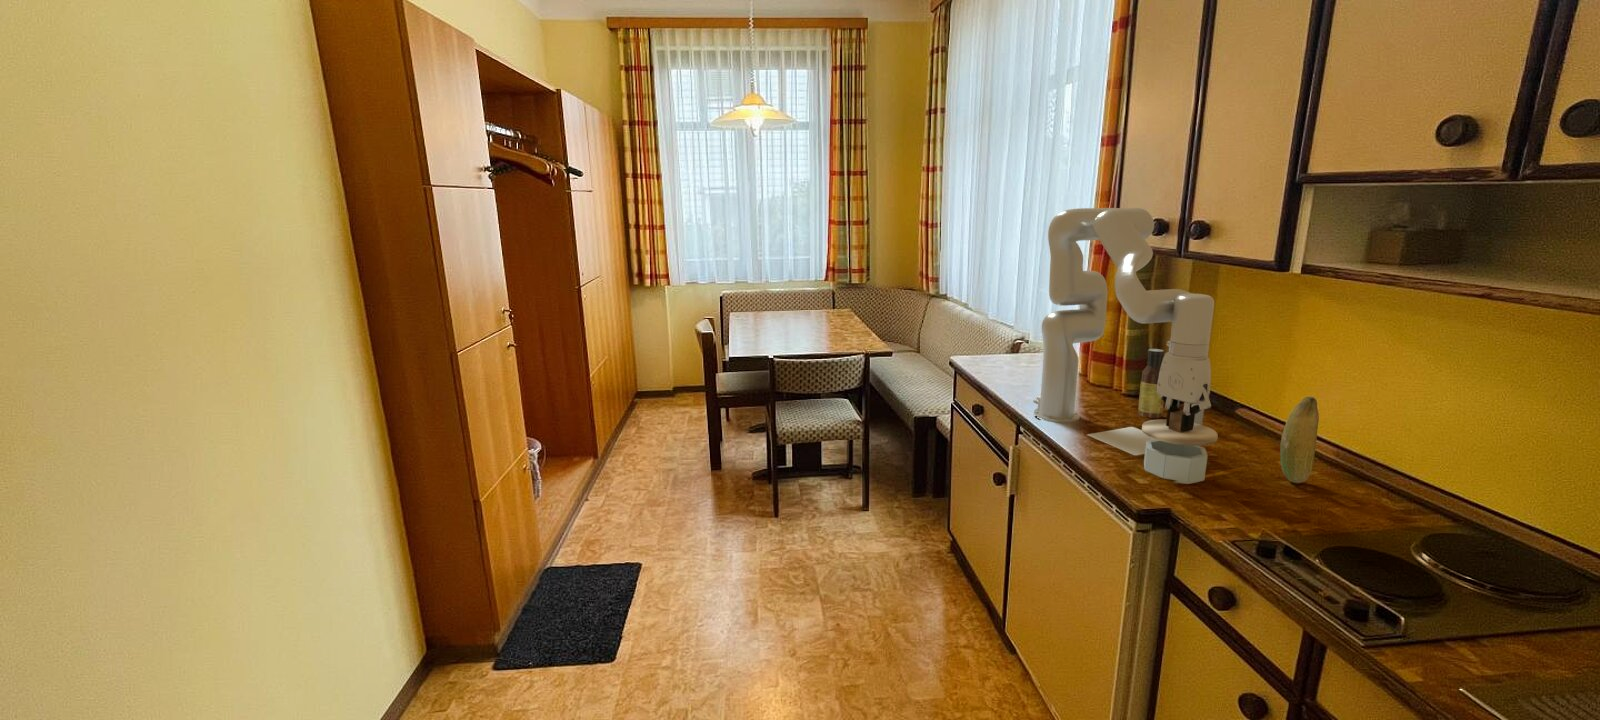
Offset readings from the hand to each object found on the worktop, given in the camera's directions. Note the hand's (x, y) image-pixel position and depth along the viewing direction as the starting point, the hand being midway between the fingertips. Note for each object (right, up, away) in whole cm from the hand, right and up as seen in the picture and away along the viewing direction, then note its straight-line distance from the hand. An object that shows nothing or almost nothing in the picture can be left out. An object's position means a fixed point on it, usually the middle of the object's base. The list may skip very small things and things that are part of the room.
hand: (1179, 427), depth 148 cm
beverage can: (+22, -4, +31) cm, 38 cm away
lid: (0, -2, 0) cm, 2 cm away
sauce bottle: (+16, -1, +41) cm, 44 cm away
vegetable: (+23, -12, -4) cm, 26 cm away
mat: (+1, -6, +22) cm, 22 cm away
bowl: (0, -11, +3) cm, 11 cm away
